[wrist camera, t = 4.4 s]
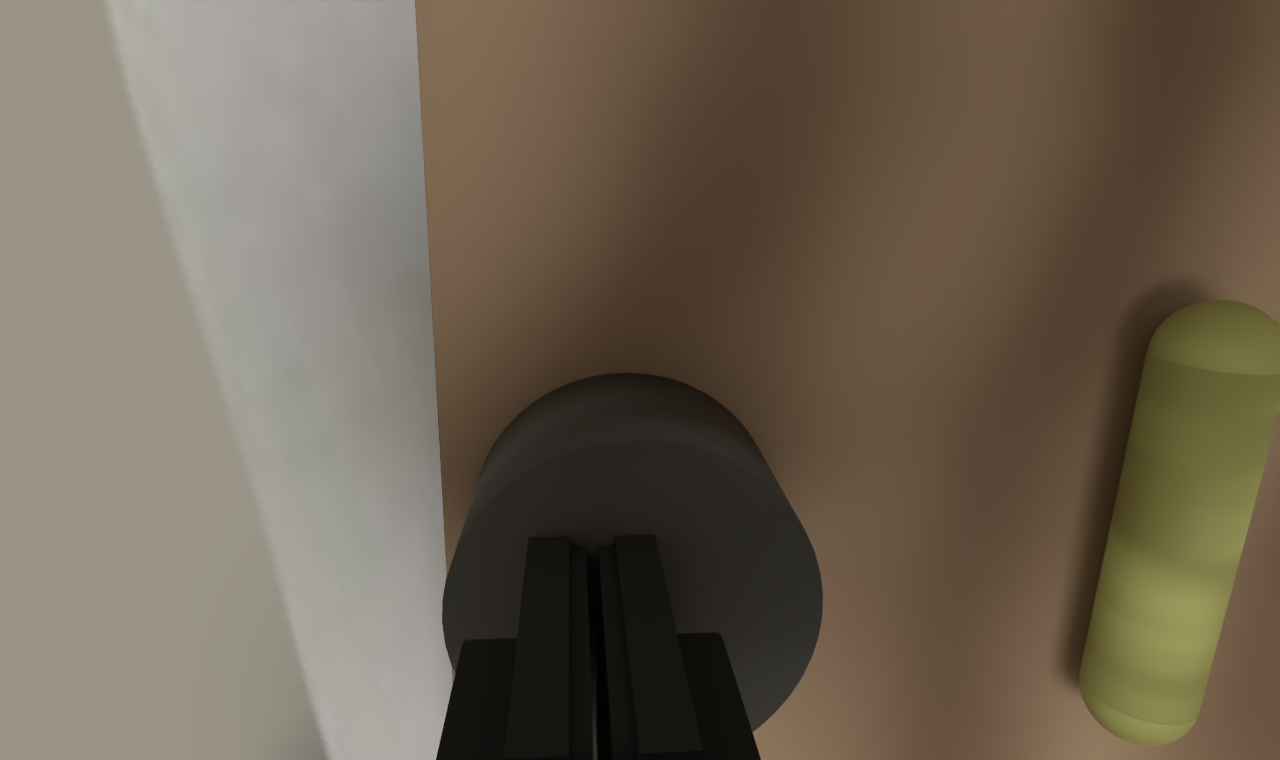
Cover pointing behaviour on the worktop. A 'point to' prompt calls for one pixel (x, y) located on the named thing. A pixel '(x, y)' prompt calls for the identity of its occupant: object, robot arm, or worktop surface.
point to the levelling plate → (878, 353)
